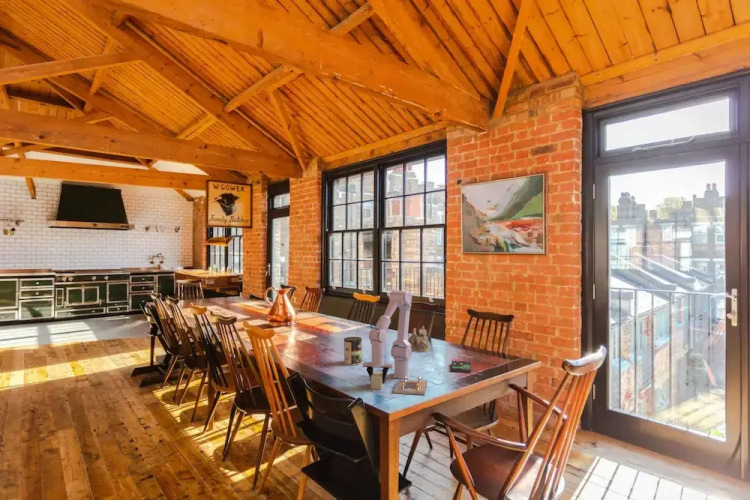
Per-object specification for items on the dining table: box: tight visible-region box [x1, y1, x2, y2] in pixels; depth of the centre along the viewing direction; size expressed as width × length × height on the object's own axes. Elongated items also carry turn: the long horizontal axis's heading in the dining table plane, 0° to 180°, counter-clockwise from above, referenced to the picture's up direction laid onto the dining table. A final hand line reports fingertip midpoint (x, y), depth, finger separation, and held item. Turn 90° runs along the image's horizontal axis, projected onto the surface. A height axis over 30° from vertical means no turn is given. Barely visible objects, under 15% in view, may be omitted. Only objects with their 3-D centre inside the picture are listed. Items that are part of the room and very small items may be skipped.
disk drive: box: [451, 360, 472, 374], centre depth 228 cm, size 10×3×15 cm
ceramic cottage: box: [407, 325, 431, 353], centre depth 271 cm, size 16×16×15 cm
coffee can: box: [343, 336, 363, 366], centre depth 240 cm, size 10×10×14 cm
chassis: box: [393, 376, 428, 396], centre depth 195 cm, size 15×14×4 cm
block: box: [370, 370, 386, 390], centre depth 199 cm, size 8×5×6 cm, turn 168°
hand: (377, 382), depth 199 cm, fingers closed on block, 5 cm apart
